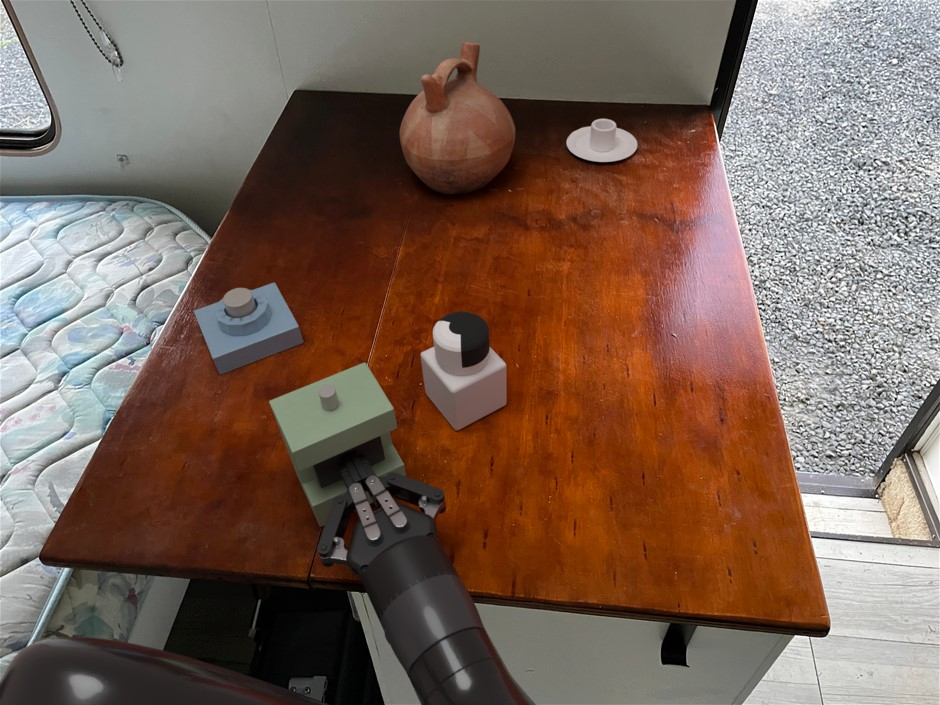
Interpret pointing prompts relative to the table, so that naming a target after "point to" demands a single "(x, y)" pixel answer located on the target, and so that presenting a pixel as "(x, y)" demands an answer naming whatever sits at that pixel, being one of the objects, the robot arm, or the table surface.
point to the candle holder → (602, 142)
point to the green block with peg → (335, 429)
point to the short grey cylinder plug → (239, 302)
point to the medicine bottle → (463, 370)
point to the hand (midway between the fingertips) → (349, 458)
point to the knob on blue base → (249, 330)
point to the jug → (457, 128)
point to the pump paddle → (329, 468)
